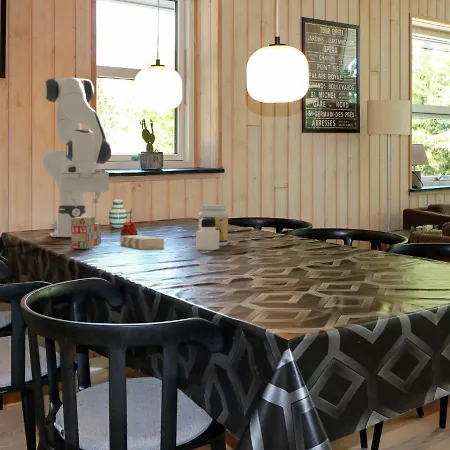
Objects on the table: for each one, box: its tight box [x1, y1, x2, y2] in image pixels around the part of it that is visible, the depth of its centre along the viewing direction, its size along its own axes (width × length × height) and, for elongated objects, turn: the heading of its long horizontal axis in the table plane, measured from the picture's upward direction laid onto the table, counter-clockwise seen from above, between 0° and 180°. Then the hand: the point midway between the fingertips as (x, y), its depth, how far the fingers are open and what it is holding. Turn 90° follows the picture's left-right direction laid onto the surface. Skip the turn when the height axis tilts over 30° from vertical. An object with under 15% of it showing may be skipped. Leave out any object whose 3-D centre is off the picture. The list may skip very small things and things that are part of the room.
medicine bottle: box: [195, 218, 220, 251], centre depth 251 cm, size 7×7×12 cm
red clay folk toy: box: [120, 208, 138, 237], centre depth 284 cm, size 8×7×15 cm
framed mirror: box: [120, 234, 165, 251], centre depth 262 cm, size 23×9×4 cm, turn 30°
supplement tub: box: [198, 204, 229, 247], centre depth 268 cm, size 12×12×17 cm
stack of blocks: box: [70, 216, 102, 250], centre depth 265 cm, size 21×6×12 cm, turn 176°
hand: (84, 203), depth 264 cm, fingers open, 8 cm apart
